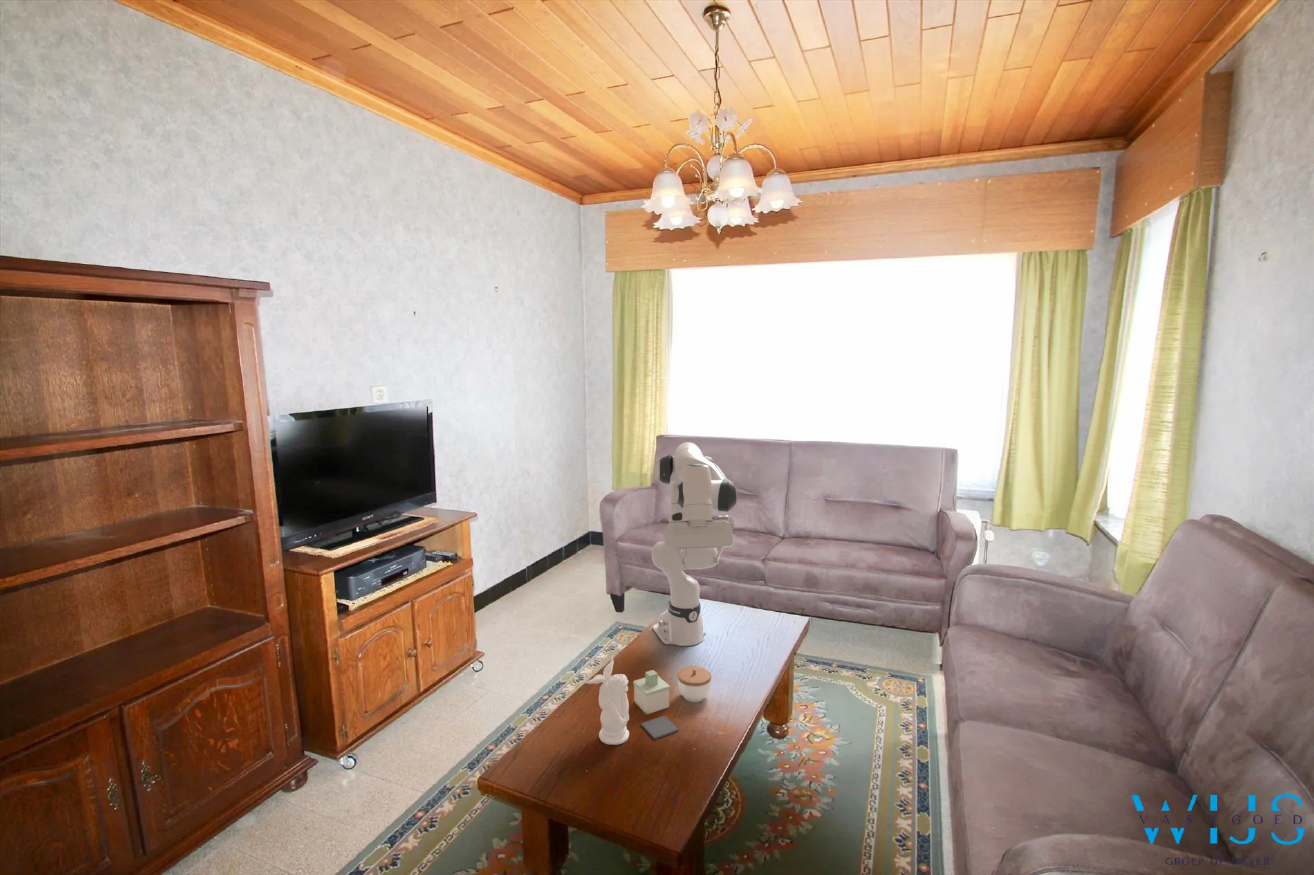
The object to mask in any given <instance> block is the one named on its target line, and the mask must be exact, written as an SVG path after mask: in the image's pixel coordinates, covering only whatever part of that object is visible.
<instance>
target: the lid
mask: <svg viewBox="0 0 1314 875" xmlns="http://www.w3.org/2000/svg"><path fill="white" fill-rule="evenodd" d="M632 685H633V686H634V685H635V686H636V687H637V688H638V689H639V690H640V691H641V692H642V693H643V694H644V695H645V696H650V695H653V694H656V693H659V692H663V691H666V690H669V691H670V689H671V685H669V684H668V683H667V682H666V681H665V680H663V678H662V677H661V676H659V673H657V671H655V670H654V669H651V670H647V671H645V676H644V677H642V678H639V679H635V680H633V682H632Z"/></svg>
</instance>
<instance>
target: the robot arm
mask: <svg viewBox="0 0 1314 875" xmlns="http://www.w3.org/2000/svg"><path fill="white" fill-rule="evenodd" d="M656 473H657V477H658V480H659V481H660V482H661V483H662V484H666V485H667V484H668V485H670V484H672V486H671V493H670V514H669V515H668V518H667V519H668V522H669V523H668V524H667V525H666V526H665V531H664V538H663V539H664V540H663V541H662V540H661V541H658V542H656V543H655V544H654V545H653V547H652V549H651V560H652V562H653V564H654V566H656V568H658V569H659V570H661V571H662V572H663V574H664V575H665V576H666V578H667V580H668V584H669V588H670V600H668V601H667V605H668V607H667V609H666V610H665V611H664V612H662V613H660V614H659V617H658V621H657V623H655V624H654V625H652V630H653V631H654V632H655V634H656V636H658V638H659V639H660V640H661V642H662V643H663V644H665V645H675V646H679V647H680V646H681V647H688V646H689V647H690V646H696V645H698V644H700V643H702V642H703V640H704V636H705V635H706V630H705V629H704V623H703V622H704V621H703V615H702V613H701V607H702V606H701V602H700V584H699V582H698V581H697V580H696V579H695V578H694V577H692V576H690V575H688V574H686V572H684V570H706V569H710V568H713V567H716V566H717V565H718V564H719V562H720V560H719V559H720V556H721V554H722V552H723V548H732V547H733V546H734V545H735V544H734V543H735V541H734V535H733V530H734V528H735V523H734V522H735V521H734V518H732V517H731V516H729V515H726V514H725V515H714V512H715V511H716V512H717V511H718V512H729V511H731V510H732V509H733V508H734V507H735V506H736V505H737V500H738V495H737V489H736V485H735V484H734V483H733V482H732V481H731V479H729V478H727V476H726V475H725V474H724V472H723V471H722V470H721V468H720V467H719V466H718V465H717V464H716V463H715V461H714V459H713V458H712V457H711V456H709V455H704V454H703V452H702V450H701V449H700V448H699V446H698V445H696V443H693V442H690V441H686V442H682V443H681V444H679V445H678V446H677V447H676V449H675V451H674V455H671V454H668V455H664V456H663V457H661V458H660V459H659V461H658V464H657V465H656Z"/></svg>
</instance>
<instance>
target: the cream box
mask: <svg viewBox="0 0 1314 875" xmlns="http://www.w3.org/2000/svg"><path fill="white" fill-rule="evenodd" d="M633 688H634V689H633V690H634V691H633V694H634V695H633V698H634V702H633V703H635V704H636V705H637V706H638V708H640V709H641V711H642V712H643V713H644V714H645V715H650V714H653V713H655V712H659V711H662V710H664V709H665V710H666V709H667V708H670V689H669V690H666V691H663V692H659V693H656V694H653V695H650V696H645V695H644V694H643V693H642V692H641V691H640V690H639V689H638V688H637V687H636V686H635V685H634V684H633Z"/></svg>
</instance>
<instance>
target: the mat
mask: <svg viewBox="0 0 1314 875" xmlns="http://www.w3.org/2000/svg"><path fill="white" fill-rule="evenodd" d="M640 725H641V727H642V728H643V729H644V730H645V731H646V732H647V733H648V734H649V735H650V736H651V738H653V739H654V740H657V739H660V738H663V737H665V736H668V735H671V734H674V733H677V732H679V728H678V727H677V726H676V725H675V724H674V723H673V722H672V721H671V720H670V719H668V717H667V716H665V715H662V716H659V717H656V718H652V719H649V720H647V721H644V722H641V724H640Z"/></svg>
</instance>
